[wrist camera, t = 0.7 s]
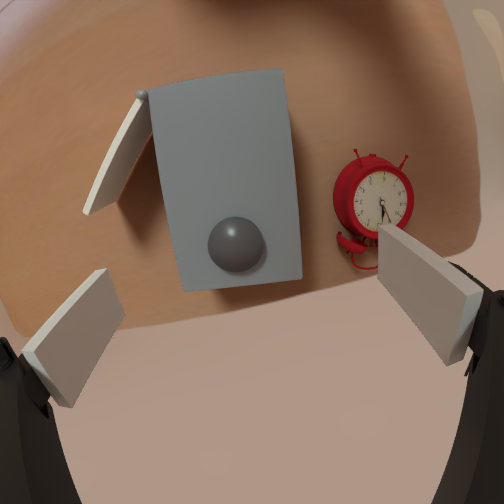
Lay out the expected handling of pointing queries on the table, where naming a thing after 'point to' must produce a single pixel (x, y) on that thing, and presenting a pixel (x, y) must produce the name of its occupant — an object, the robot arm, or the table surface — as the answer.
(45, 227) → the table surface
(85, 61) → the table surface
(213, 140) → the case
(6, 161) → the table surface
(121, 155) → the door
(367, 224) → the alarm clock
